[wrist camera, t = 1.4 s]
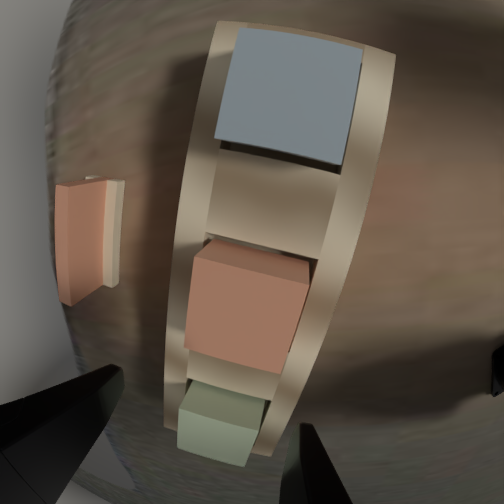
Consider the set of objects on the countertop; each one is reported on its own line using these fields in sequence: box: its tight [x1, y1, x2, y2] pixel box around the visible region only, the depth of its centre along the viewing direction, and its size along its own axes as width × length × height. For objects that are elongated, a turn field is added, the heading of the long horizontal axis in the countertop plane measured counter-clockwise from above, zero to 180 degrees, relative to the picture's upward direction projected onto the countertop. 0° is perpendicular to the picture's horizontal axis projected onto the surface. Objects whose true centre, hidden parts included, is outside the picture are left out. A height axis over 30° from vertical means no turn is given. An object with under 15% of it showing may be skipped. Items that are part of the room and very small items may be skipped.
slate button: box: [214, 27, 363, 165], centre depth 11 cm, size 5×5×3 cm
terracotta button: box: [184, 239, 309, 374], centre depth 15 cm, size 5×5×3 cm
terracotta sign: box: [55, 175, 125, 307], centre depth 18 cm, size 8×3×5 cm, turn 169°
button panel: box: [164, 21, 396, 457], centre depth 17 cm, size 28×9×4 cm, turn 169°
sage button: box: [177, 380, 265, 467], centre depth 18 cm, size 5×5×3 cm
